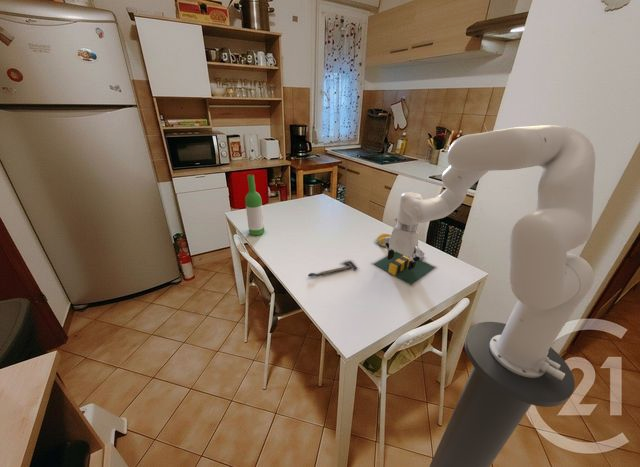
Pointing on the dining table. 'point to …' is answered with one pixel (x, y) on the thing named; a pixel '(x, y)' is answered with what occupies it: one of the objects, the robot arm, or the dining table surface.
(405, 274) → the mat
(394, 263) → the yellow striped handle
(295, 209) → the dining table surface
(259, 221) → the wine bottle
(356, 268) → the tomahawk
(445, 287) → the dining table surface
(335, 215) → the dining table surface
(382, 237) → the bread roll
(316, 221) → the dining table surface
